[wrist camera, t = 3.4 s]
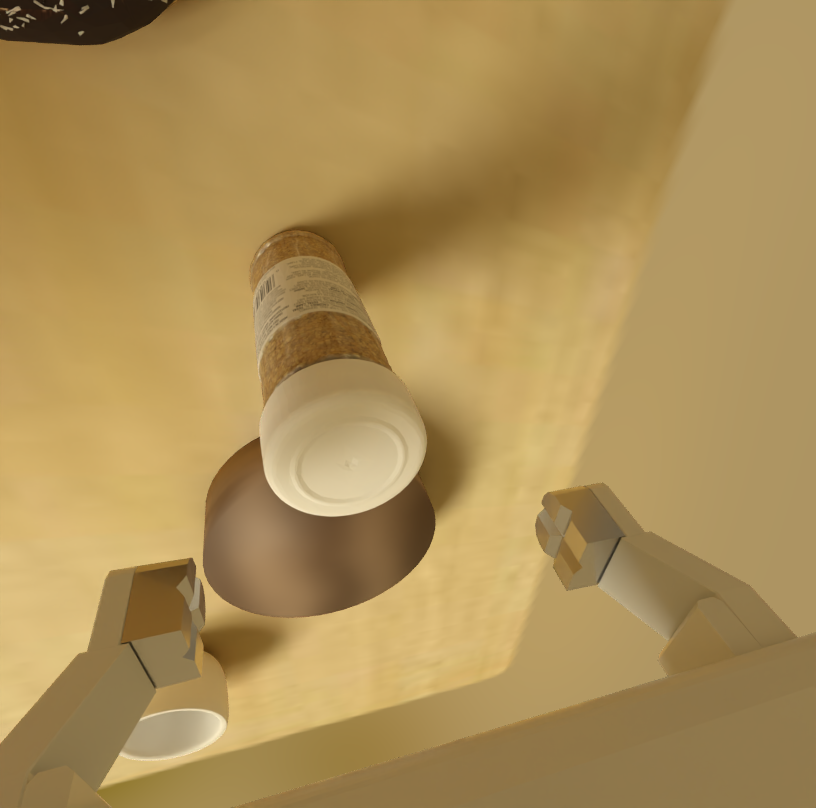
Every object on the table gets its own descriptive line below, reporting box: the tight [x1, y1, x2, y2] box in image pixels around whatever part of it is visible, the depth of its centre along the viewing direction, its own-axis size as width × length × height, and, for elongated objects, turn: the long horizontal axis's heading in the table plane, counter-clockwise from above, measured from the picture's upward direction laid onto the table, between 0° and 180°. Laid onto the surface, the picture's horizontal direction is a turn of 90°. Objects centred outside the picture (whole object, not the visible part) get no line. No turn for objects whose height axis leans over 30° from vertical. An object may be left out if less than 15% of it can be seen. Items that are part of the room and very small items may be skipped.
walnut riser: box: [203, 437, 435, 618], centre depth 31 cm, size 14×14×4 cm
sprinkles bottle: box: [250, 230, 427, 517], centre depth 18 cm, size 5×5×13 cm
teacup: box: [119, 651, 229, 761], centre depth 38 cm, size 10×8×5 cm
